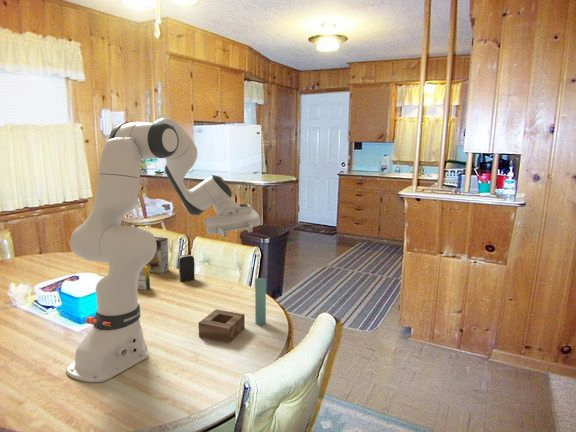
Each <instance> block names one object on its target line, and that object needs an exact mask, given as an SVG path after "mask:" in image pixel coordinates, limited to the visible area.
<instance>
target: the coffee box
mask: <svg viewBox="0 0 576 432" xmlns="http://www.w3.org/2000/svg"><path fill="white" fill-rule="evenodd" d="M154 237H155V240H156V244H157V248H156V253H155V255H154V257H153V259H152V260H151V261H150V262H149V263H147V264H146V265H145V266H149V273H155V274H164V273H165V272H168V271H169V269H170V268H169V245H168V244H169V242H168V241H169V240H168V239H169V238H168V237H161V236H160V237H158V236H154Z"/></svg>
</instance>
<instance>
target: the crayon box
mask: <svg viewBox="0 0 576 432" xmlns="http://www.w3.org/2000/svg"><path fill="white" fill-rule="evenodd" d="M150 288H151V282H150V272H149V266H146V265H145V266H144V267H143V268H142V270H141V272H140V274H139V277H138V283H137V290H138V289H139V290H144V291H147V290H148V289H150Z"/></svg>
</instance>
